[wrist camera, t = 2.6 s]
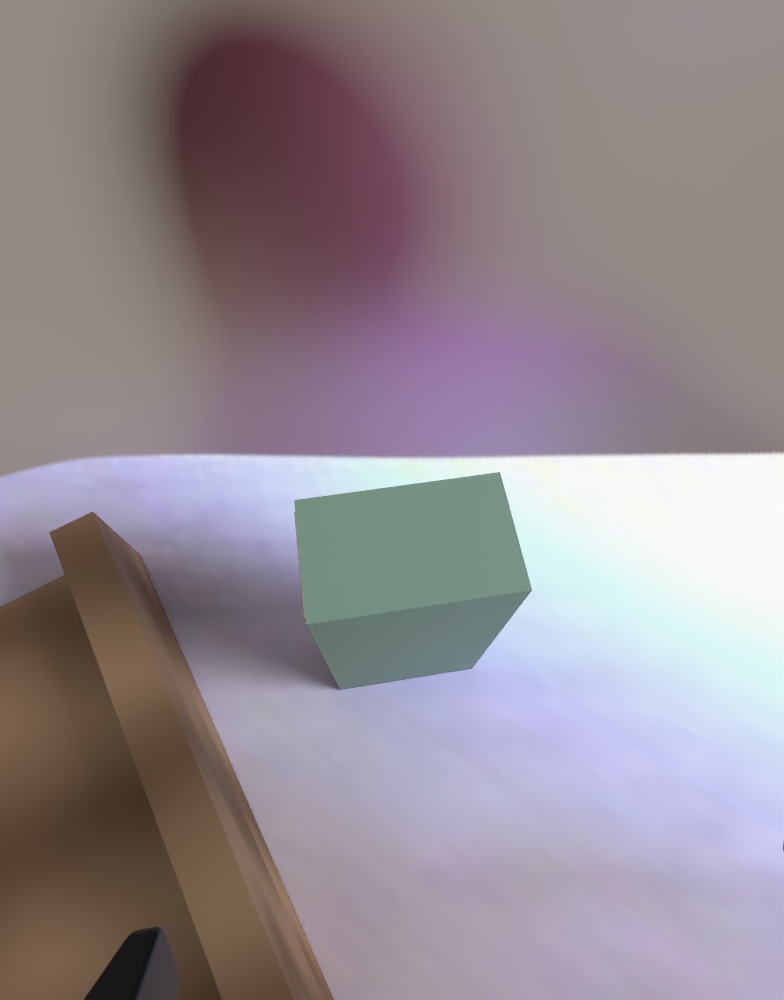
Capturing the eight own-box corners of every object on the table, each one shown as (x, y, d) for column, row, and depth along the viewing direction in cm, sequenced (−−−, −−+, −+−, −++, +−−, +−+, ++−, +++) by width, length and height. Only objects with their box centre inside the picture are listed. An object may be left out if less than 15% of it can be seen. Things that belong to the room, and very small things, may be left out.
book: (472, 668, 22) (531, 590, 13) (338, 690, 21) (303, 624, 12) (455, 592, 23) (499, 472, 14) (329, 611, 23) (292, 500, 14)
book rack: (355, 1050, 17) (346, 1128, 13) (11, 1319, 15) (-121, 1508, 11) (139, 554, 24) (92, 511, 20) (-120, 684, 21) (-230, 664, 17)
